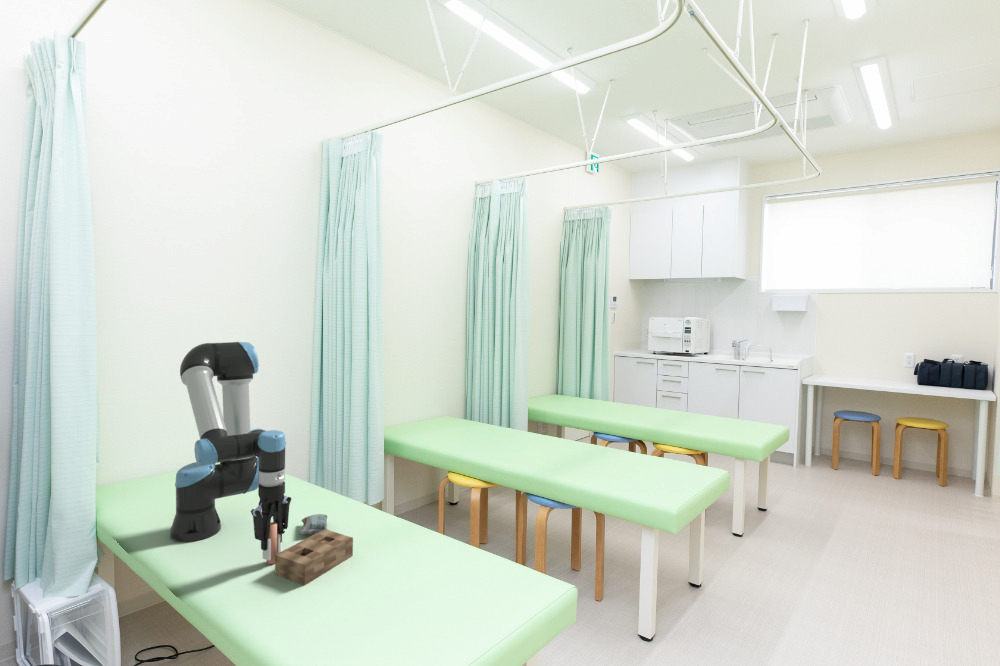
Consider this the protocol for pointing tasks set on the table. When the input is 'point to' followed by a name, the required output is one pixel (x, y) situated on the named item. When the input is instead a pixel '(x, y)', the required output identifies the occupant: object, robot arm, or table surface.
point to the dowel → (273, 542)
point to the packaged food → (314, 524)
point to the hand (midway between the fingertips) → (271, 556)
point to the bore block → (313, 556)
